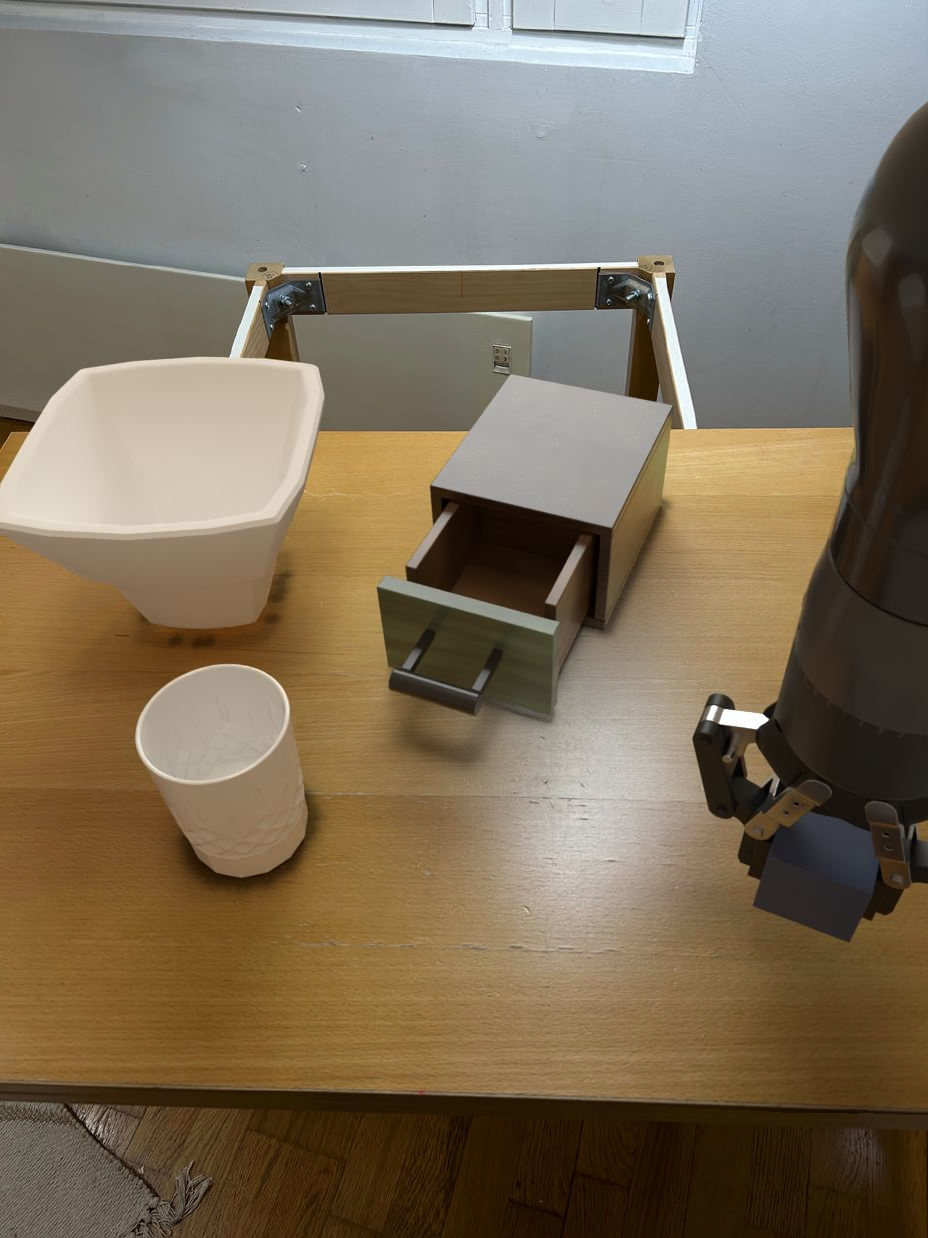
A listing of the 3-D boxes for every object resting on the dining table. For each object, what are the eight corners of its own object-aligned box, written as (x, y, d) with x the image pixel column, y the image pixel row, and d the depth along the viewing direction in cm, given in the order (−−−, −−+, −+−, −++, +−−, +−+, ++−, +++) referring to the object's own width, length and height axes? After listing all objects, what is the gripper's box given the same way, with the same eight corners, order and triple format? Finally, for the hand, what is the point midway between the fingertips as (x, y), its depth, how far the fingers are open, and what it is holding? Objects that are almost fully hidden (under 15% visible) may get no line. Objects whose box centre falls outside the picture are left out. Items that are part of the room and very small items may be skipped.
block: (867, 864, 49) (891, 813, 46) (849, 943, 46) (872, 895, 43) (775, 831, 51) (791, 780, 47) (752, 906, 48) (767, 857, 45)
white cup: (235, 755, 61) (197, 646, 54) (343, 799, 59) (318, 690, 52) (155, 856, 56) (102, 751, 49) (269, 909, 54) (230, 806, 47)
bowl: (357, 509, 78) (334, 352, 68) (326, 696, 64) (291, 534, 54) (127, 512, 79) (70, 357, 69) (47, 697, 65) (-37, 538, 55)
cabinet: (604, 630, 68) (612, 528, 61) (437, 585, 71) (429, 485, 65) (661, 504, 77) (674, 404, 70) (511, 470, 81) (510, 373, 74)
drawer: (522, 776, 58) (522, 697, 53) (353, 721, 62) (337, 641, 56) (615, 578, 70) (623, 497, 65) (468, 541, 73) (464, 461, 68)
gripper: (681, 662, 36) (647, 892, 48) (1117, 792, 31) (957, 1012, 44) (736, 537, 41) (692, 776, 53) (1124, 634, 36) (977, 873, 48)
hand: (812, 882), depth 48 cm, fingers closed on block, 4 cm apart
